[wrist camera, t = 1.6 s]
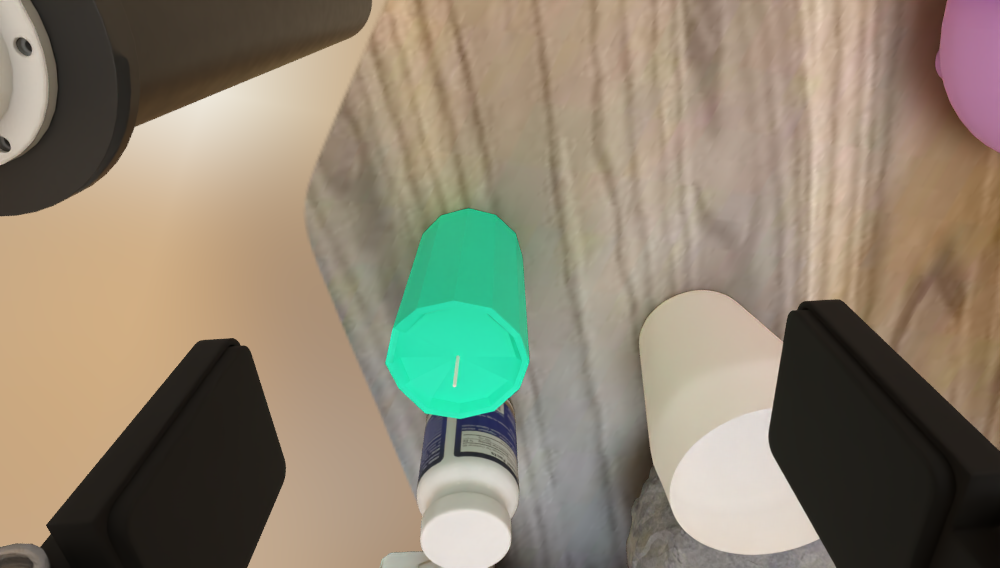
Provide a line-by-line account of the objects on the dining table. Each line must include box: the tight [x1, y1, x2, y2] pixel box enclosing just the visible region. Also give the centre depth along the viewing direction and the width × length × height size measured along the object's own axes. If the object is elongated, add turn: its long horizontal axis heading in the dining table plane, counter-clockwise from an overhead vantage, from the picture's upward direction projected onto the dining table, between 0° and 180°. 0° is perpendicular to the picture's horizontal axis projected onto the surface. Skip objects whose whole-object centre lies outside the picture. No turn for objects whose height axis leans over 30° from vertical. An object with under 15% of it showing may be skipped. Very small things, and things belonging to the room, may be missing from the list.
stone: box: [626, 465, 836, 568], centre depth 37 cm, size 15×16×10 cm
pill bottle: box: [417, 399, 519, 568], centre depth 35 cm, size 6×6×10 cm
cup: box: [639, 290, 820, 555], centre depth 31 cm, size 9×9×12 cm
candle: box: [385, 208, 530, 419], centre depth 29 cm, size 6×6×12 cm
